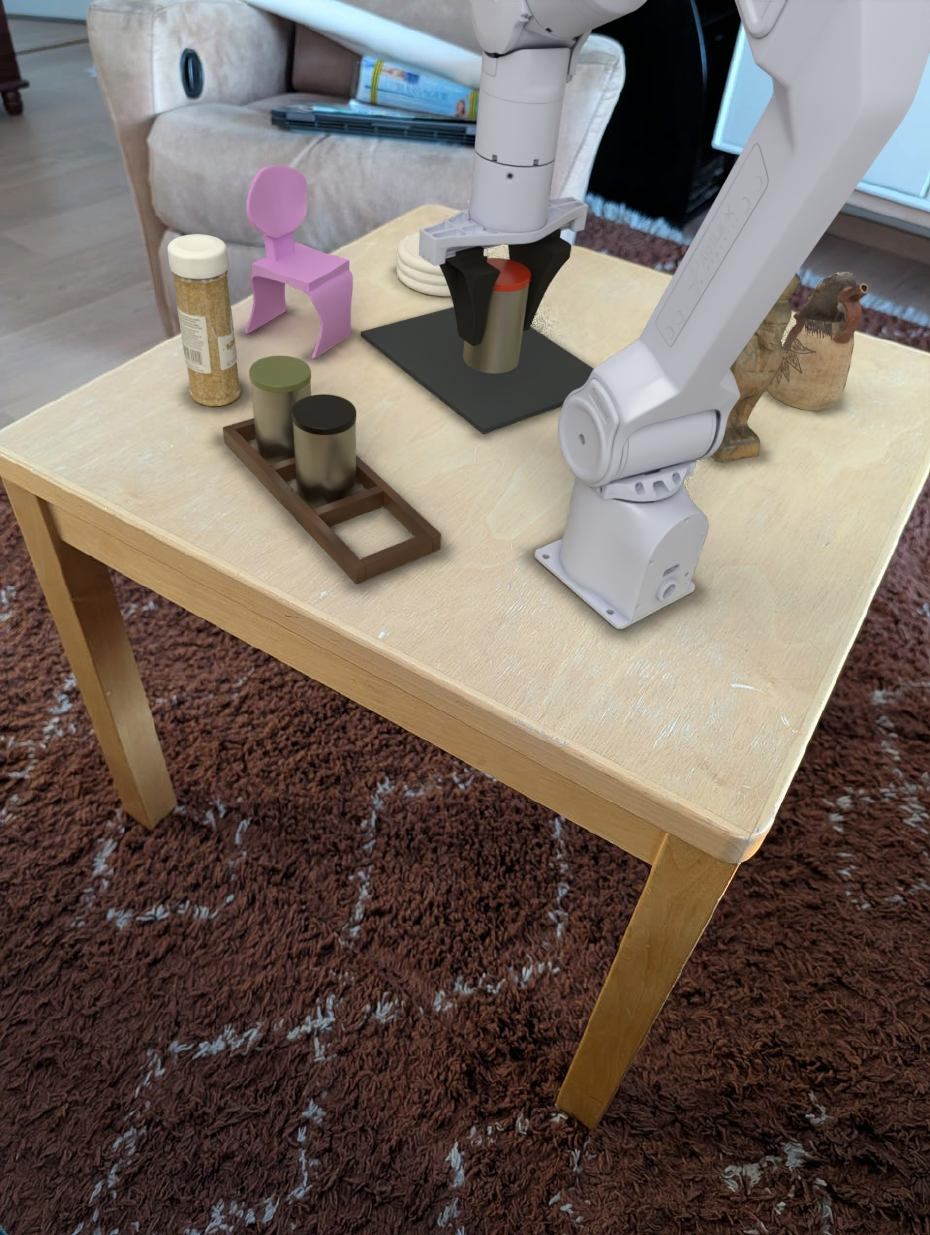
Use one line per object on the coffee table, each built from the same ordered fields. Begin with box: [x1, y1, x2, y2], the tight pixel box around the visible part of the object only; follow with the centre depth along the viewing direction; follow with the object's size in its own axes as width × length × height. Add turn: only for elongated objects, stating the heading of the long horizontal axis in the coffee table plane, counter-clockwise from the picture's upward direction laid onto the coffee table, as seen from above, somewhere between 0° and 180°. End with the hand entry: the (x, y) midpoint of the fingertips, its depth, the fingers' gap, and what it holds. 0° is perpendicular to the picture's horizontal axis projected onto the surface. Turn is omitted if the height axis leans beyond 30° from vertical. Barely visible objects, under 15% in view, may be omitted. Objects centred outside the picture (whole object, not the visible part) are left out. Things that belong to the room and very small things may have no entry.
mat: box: [360, 306, 595, 435], centre depth 90 cm, size 20×16×1 cm
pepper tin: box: [292, 393, 357, 510], centre depth 70 cm, size 5×5×8 cm
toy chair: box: [244, 164, 354, 360], centre depth 85 cm, size 8×9×15 cm
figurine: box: [766, 271, 869, 412], centre depth 86 cm, size 7×7×12 cm
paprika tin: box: [463, 257, 531, 373], centre depth 73 cm, size 5×5×8 cm
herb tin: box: [248, 355, 312, 465], centre depth 74 cm, size 5×5×8 cm
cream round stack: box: [396, 231, 490, 297], centre depth 101 cm, size 10×10×4 cm
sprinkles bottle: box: [167, 233, 242, 407], centre depth 77 cm, size 5×5×14 cm
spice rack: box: [222, 417, 442, 585], centre depth 72 cm, size 21×7×2 cm, turn 37°
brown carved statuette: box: [710, 272, 801, 463], centre depth 78 cm, size 12×6×18 cm, turn 16°
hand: (494, 332), depth 74 cm, fingers closed on paprika tin, 4 cm apart
